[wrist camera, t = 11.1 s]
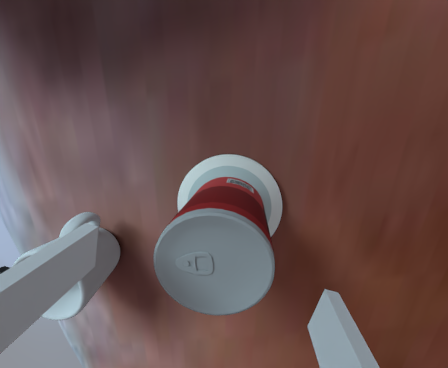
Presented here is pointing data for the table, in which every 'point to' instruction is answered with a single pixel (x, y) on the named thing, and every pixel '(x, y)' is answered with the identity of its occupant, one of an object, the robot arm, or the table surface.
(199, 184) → the plate
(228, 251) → the canned food
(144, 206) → the table surface
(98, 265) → the cup
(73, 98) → the table surface
